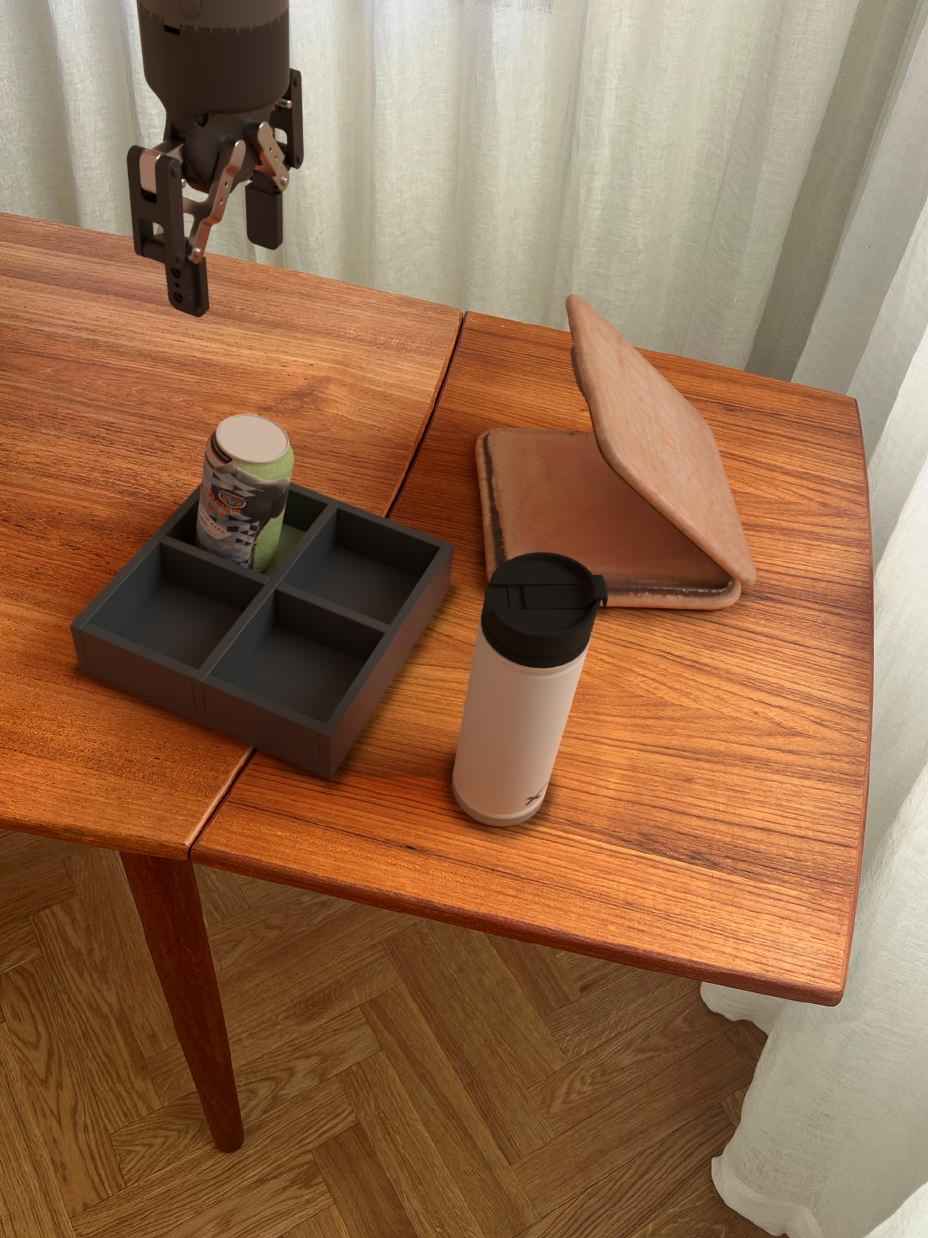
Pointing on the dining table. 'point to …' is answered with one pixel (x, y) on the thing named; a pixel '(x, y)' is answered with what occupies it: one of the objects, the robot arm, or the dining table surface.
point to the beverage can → (244, 491)
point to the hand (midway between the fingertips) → (229, 276)
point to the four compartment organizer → (270, 626)
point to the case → (619, 485)
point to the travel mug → (523, 683)
